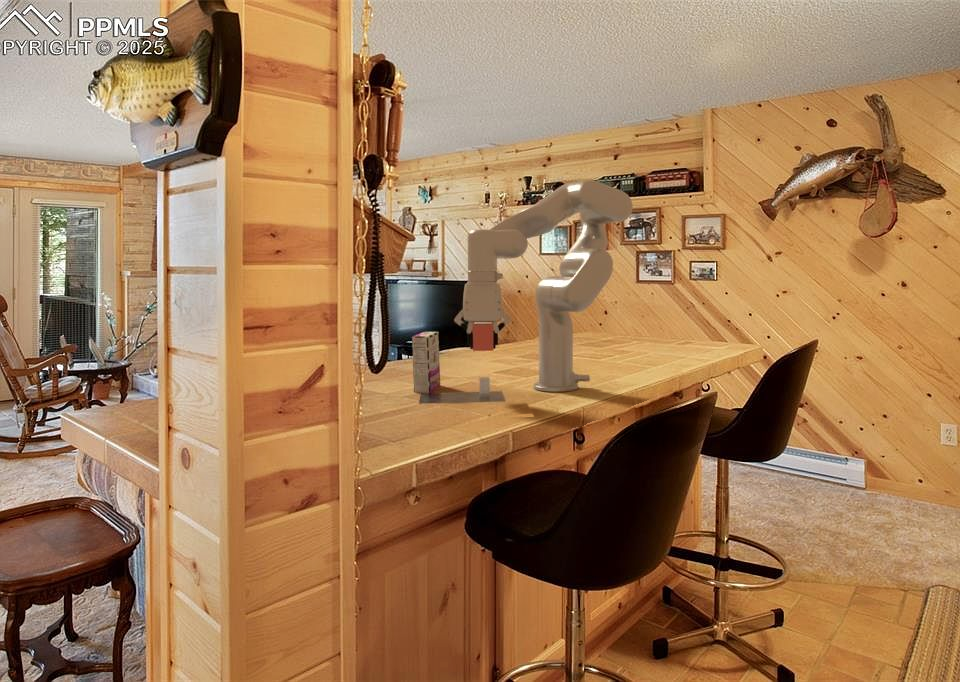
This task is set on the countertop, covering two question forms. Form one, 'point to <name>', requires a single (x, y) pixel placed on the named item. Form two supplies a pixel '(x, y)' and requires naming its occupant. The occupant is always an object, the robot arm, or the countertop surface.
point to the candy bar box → (426, 362)
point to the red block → (482, 337)
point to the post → (465, 395)
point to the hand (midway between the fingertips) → (482, 347)
